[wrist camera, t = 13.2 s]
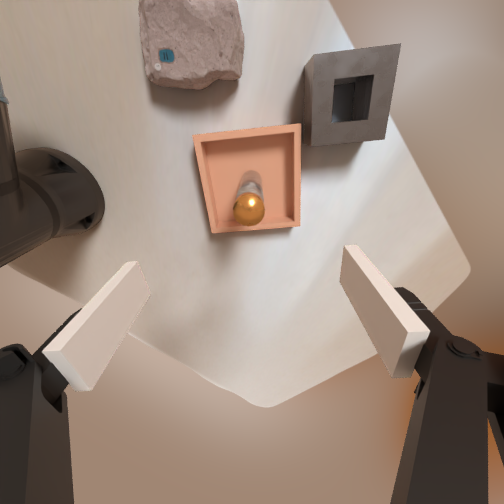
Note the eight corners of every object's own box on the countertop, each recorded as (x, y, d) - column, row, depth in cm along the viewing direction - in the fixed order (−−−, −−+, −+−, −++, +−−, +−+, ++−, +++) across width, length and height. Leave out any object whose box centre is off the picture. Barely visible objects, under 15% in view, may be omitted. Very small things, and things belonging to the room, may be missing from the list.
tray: (215, 225, 44) (211, 233, 41) (197, 134, 36) (192, 135, 33) (296, 218, 43) (300, 226, 40) (297, 123, 35) (301, 123, 32)
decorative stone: (154, 87, 33) (136, 80, 28) (143, -3, 29) (120, -31, 24) (243, 94, 34) (241, 89, 29) (246, 6, 29) (245, -19, 24)
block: (303, 143, 37) (311, 146, 31) (304, 66, 32) (314, 54, 27) (365, 137, 36) (384, 139, 31) (376, 57, 31) (401, 43, 26)
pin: (242, 192, 40) (235, 227, 26) (240, 171, 38) (230, 197, 24) (262, 190, 40) (265, 225, 26) (261, 169, 38) (263, 194, 24)
